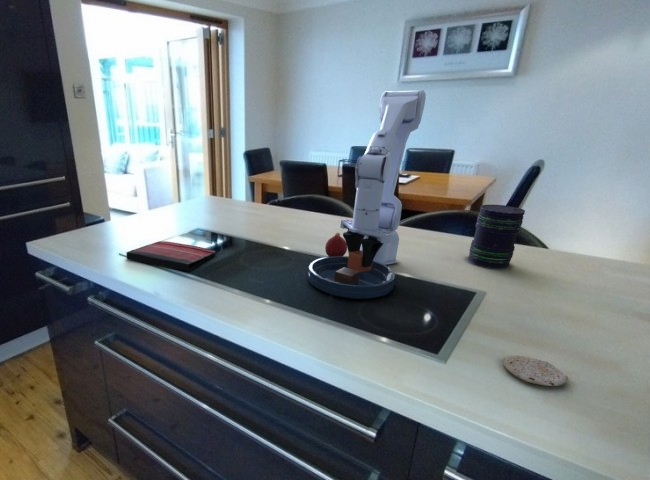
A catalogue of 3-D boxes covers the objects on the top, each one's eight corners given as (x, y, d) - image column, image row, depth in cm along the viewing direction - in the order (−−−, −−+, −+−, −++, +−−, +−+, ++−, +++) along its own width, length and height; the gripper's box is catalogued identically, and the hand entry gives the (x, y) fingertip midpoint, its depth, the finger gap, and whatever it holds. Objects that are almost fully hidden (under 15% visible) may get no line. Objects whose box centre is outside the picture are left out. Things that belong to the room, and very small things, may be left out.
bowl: (352, 264, 106) (354, 251, 104) (411, 291, 89) (413, 277, 88) (292, 275, 98) (293, 262, 97) (344, 307, 82) (346, 292, 81)
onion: (346, 264, 105) (349, 236, 102) (324, 263, 106) (327, 235, 103) (344, 257, 110) (347, 230, 107) (323, 256, 111) (326, 229, 108)
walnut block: (342, 282, 93) (344, 266, 91) (357, 287, 90) (360, 271, 88) (333, 287, 90) (335, 271, 89) (348, 292, 87) (351, 276, 86)
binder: (188, 263, 100) (125, 251, 109) (188, 272, 100) (126, 259, 109) (218, 248, 113) (160, 239, 122) (218, 256, 114) (160, 246, 123)
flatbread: (509, 381, 59) (511, 376, 59) (497, 354, 65) (498, 349, 65) (575, 394, 56) (577, 388, 56) (555, 365, 63) (557, 359, 62)
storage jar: (470, 266, 104) (483, 211, 98) (464, 254, 112) (477, 203, 107) (514, 271, 101) (531, 214, 95) (504, 259, 109) (520, 206, 103)
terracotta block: (359, 264, 98) (361, 249, 96) (371, 270, 95) (373, 254, 93) (347, 267, 96) (348, 251, 95) (358, 272, 93) (360, 256, 92)
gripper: (333, 203, 95) (327, 256, 100) (377, 217, 82) (368, 276, 87) (355, 201, 97) (349, 252, 102) (401, 213, 85) (392, 271, 90)
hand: (359, 263), depth 95 cm, fingers closed on terracotta block, 4 cm apart
